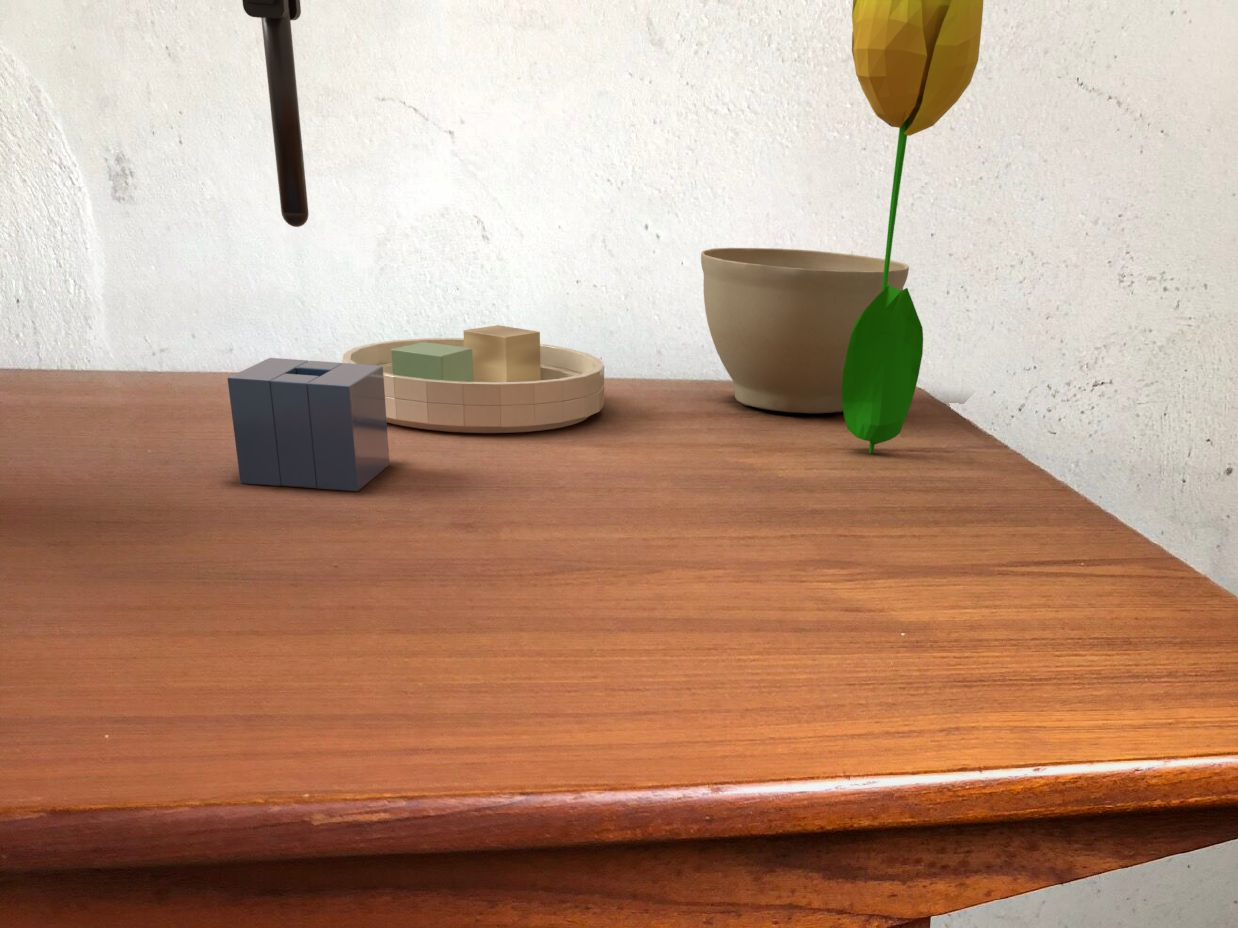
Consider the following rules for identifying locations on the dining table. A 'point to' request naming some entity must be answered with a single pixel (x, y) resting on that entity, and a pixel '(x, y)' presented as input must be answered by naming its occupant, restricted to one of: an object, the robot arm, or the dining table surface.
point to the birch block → (504, 354)
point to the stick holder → (309, 423)
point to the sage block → (433, 362)
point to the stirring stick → (285, 119)
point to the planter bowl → (789, 320)
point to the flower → (912, 101)
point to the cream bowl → (490, 393)
